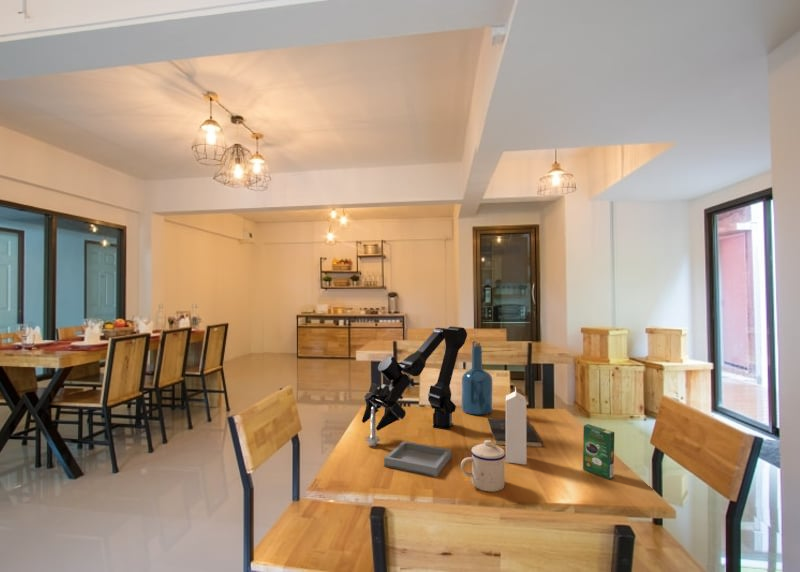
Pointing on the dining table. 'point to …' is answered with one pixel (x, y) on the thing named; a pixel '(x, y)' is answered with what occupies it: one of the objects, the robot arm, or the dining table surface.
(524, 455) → the milk
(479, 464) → the teacup with lid
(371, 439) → the screw
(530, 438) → the hardcover book
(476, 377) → the wine bottle
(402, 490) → the dining table surface
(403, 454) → the tray
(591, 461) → the coffee box
